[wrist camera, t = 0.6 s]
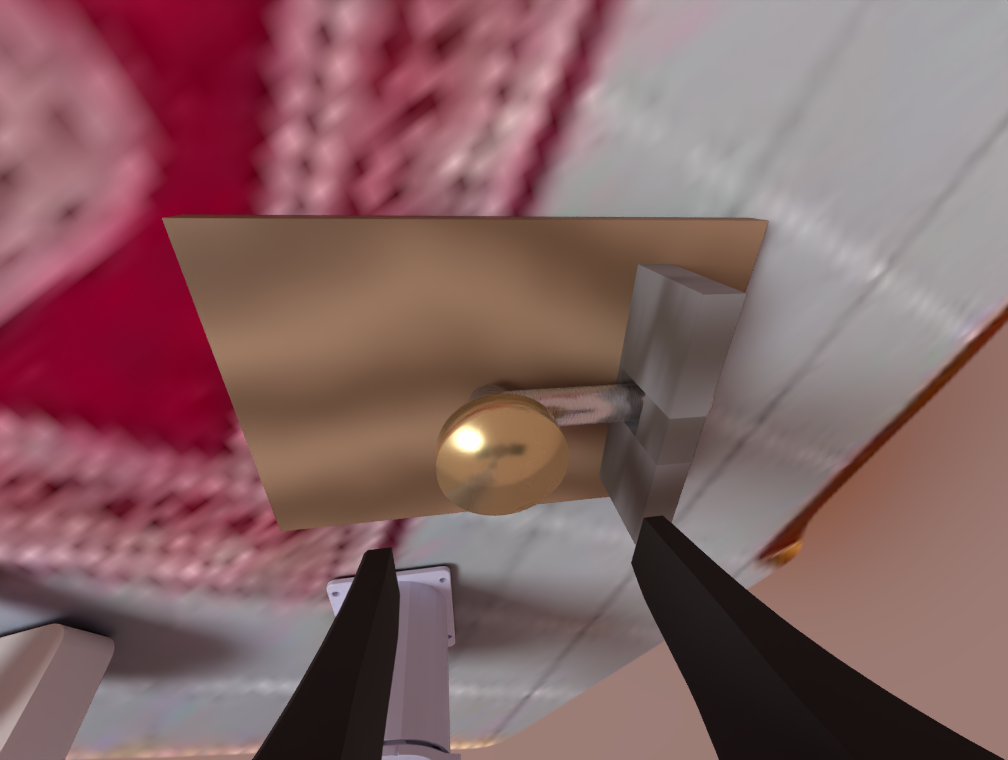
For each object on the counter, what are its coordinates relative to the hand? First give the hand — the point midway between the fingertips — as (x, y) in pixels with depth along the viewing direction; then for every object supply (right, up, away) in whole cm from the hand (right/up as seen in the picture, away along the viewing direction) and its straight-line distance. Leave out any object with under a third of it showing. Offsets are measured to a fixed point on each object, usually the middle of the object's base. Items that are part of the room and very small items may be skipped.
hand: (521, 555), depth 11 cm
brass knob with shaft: (+3, +4, +8) cm, 9 cm away
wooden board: (-1, +5, +9) cm, 10 cm away
